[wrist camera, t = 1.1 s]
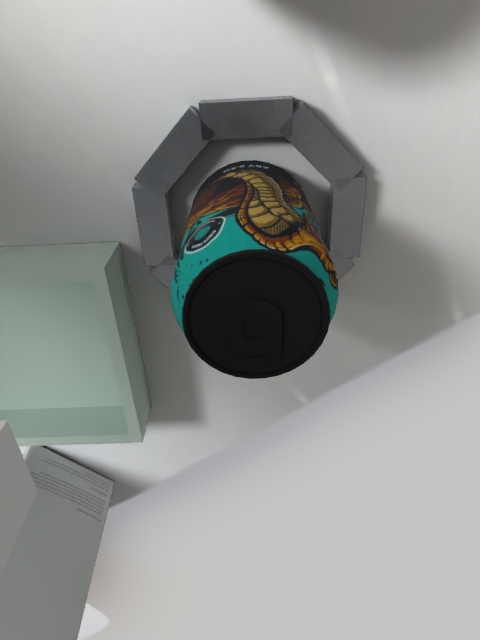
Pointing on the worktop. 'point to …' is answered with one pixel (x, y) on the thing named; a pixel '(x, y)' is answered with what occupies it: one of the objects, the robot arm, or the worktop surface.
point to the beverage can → (253, 273)
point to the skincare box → (54, 550)
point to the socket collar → (248, 122)
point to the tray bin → (69, 347)
